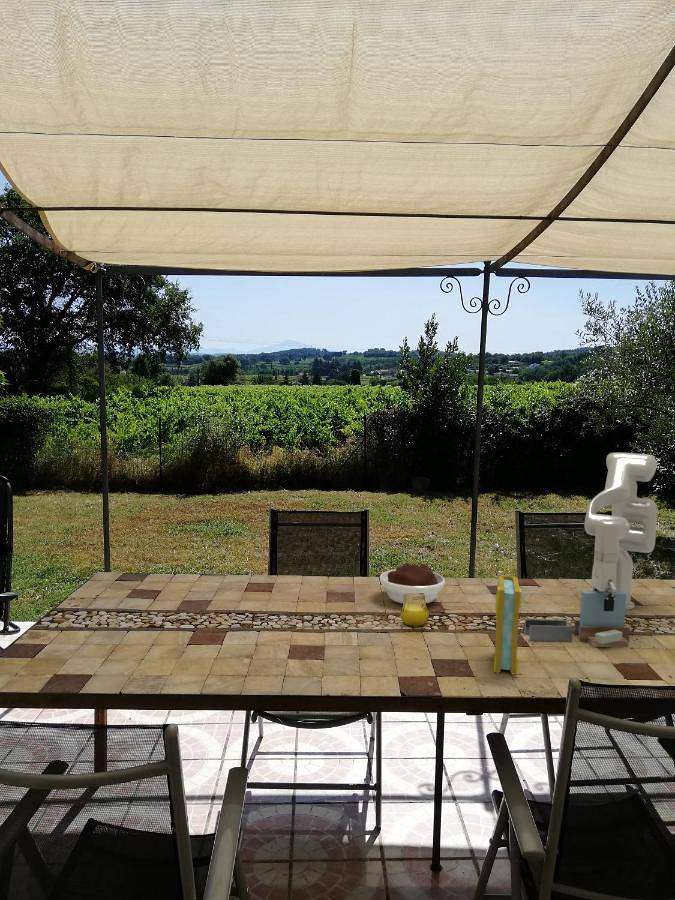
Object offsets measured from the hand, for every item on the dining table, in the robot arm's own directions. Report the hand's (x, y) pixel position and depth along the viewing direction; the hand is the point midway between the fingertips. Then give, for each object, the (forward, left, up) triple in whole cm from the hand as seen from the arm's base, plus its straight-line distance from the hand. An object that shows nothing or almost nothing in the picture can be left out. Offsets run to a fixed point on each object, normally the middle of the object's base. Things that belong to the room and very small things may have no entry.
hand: (602, 606), depth 240 cm
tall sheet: (0, 0, -11) cm, 11 cm away
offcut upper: (+7, 0, -9) cm, 11 cm away
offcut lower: (+5, 0, -12) cm, 13 cm away
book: (+22, -38, -11) cm, 45 cm away
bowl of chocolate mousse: (-36, -60, -11) cm, 71 cm away
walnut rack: (0, 0, -11) cm, 11 cm away
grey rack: (0, -18, -11) cm, 21 cm away
